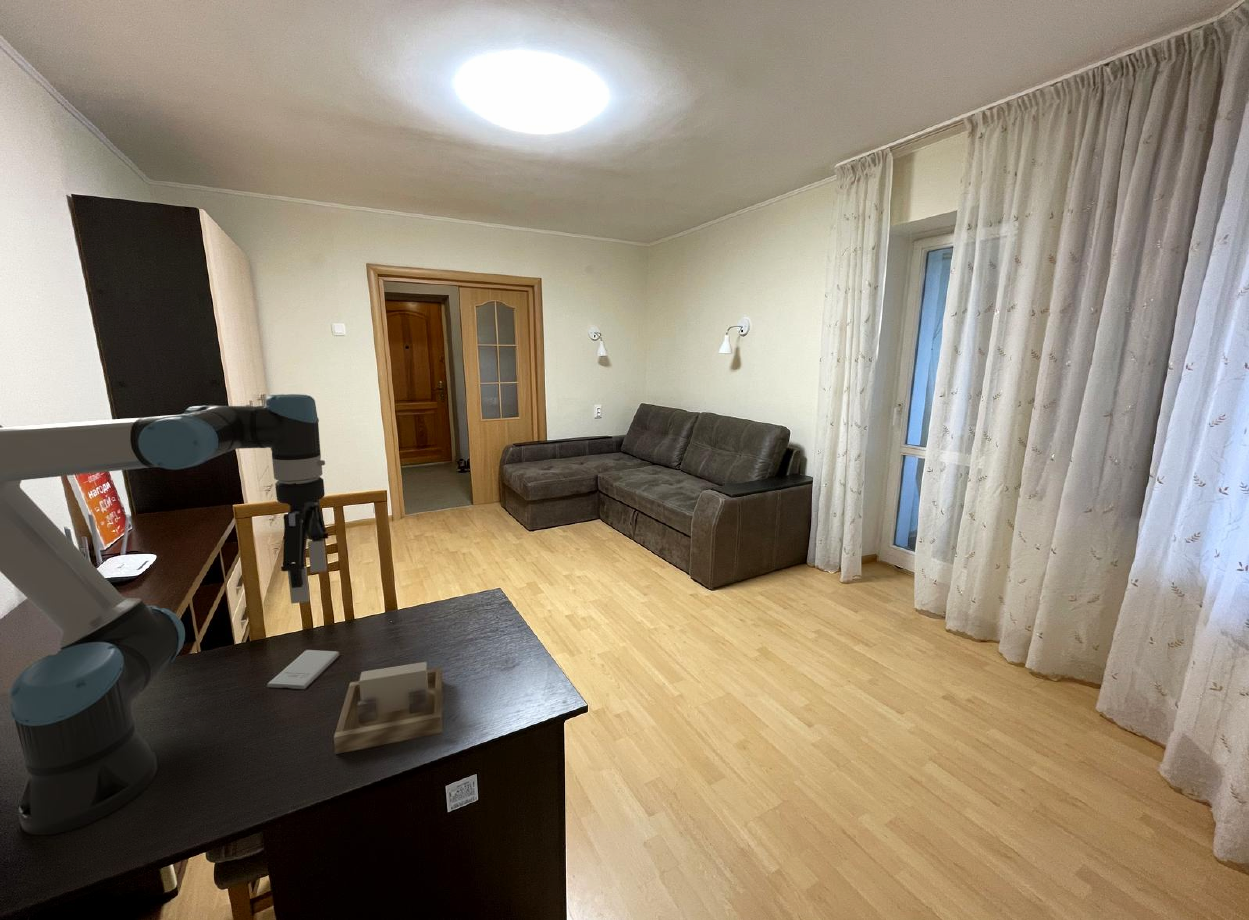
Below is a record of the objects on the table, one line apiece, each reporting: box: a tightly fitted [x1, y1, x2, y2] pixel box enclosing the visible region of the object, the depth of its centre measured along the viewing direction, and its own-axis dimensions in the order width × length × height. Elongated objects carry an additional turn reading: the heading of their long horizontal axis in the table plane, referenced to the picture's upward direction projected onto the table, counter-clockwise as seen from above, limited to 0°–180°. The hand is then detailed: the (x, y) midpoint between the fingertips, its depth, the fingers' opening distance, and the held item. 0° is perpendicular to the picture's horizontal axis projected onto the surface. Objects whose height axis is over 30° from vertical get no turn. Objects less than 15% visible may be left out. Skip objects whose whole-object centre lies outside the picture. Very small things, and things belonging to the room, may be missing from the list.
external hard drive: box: [266, 649, 340, 690], centre depth 113 cm, size 2×8×12 cm
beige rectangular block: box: [358, 661, 428, 714], centre depth 100 cm, size 12×3×8 cm, turn 109°
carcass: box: [333, 667, 443, 755], centre depth 99 cm, size 18×16×5 cm
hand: (310, 585), depth 96 cm, fingers open, 13 cm apart
